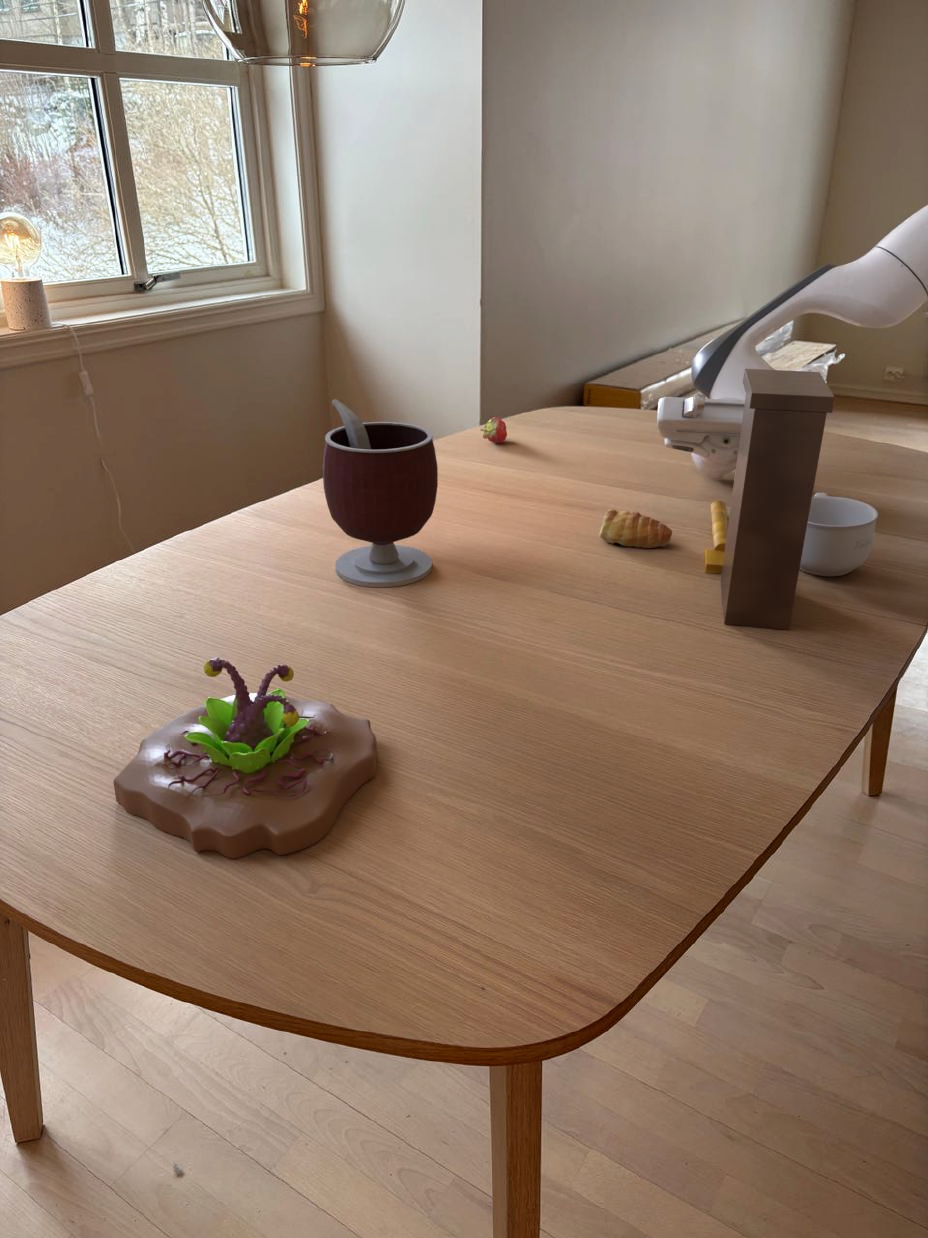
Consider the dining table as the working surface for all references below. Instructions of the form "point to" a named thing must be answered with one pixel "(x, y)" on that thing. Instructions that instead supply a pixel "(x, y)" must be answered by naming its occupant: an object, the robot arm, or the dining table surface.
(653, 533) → the pastry
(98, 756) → the dining table surface
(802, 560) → the teacup
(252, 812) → the plant
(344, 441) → the mate gourd
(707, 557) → the toy blocks
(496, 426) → the fruit
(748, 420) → the rectangular pillar
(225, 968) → the dining table surface
